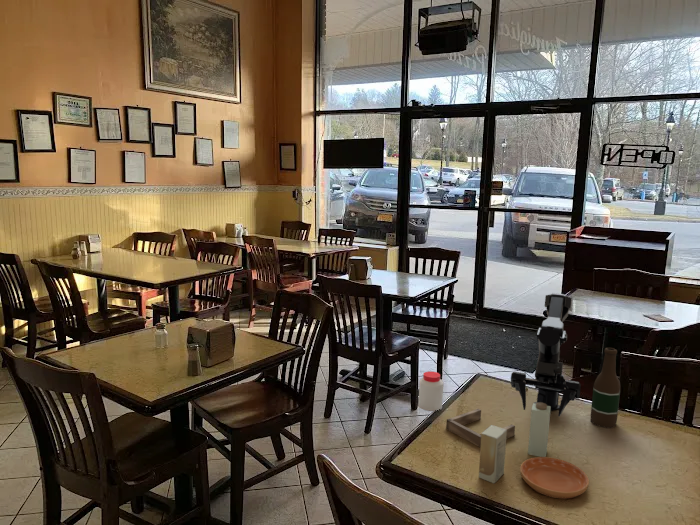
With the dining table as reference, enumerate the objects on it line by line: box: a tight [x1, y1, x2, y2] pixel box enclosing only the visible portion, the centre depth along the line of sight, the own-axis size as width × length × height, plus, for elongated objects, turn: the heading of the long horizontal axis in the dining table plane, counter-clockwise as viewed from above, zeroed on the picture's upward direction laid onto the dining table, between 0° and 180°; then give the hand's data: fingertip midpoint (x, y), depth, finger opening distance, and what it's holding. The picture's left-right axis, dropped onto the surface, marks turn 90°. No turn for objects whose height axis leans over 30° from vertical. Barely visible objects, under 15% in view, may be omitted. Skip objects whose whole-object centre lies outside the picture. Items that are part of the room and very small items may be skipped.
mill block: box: [527, 402, 551, 457], centre depth 147 cm, size 5×5×14 cm
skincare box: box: [478, 424, 507, 484], centre depth 135 cm, size 6×4×12 cm
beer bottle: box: [590, 347, 621, 429], centre depth 166 cm, size 8×8×24 cm
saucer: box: [519, 456, 590, 500], centre depth 133 cm, size 16×16×3 cm
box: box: [445, 408, 516, 448], centre depth 159 cm, size 14×14×3 cm
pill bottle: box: [418, 371, 444, 412], centre depth 176 cm, size 8×8×11 cm
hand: (541, 412), depth 150 cm, fingers open, 9 cm apart
